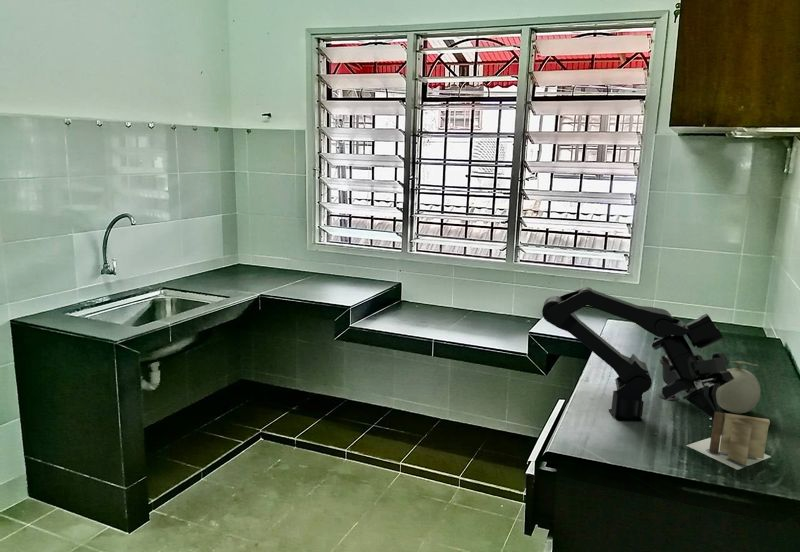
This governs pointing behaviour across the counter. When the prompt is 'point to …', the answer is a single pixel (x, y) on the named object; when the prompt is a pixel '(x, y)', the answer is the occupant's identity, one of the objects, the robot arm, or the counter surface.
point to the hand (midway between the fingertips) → (717, 418)
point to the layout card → (722, 454)
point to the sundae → (668, 374)
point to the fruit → (739, 391)
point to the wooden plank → (732, 438)
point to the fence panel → (756, 437)
